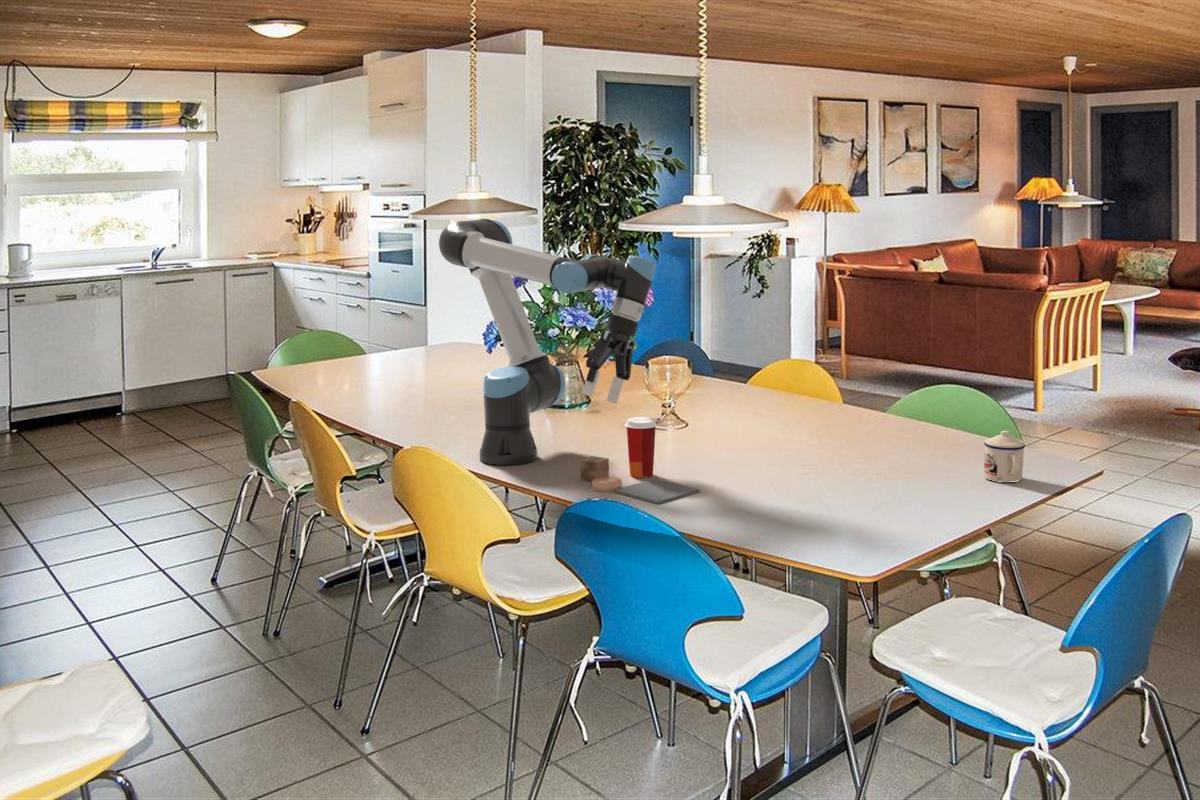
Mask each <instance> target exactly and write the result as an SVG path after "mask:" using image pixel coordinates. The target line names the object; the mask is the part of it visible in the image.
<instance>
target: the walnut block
mask: <svg viewBox="0 0 1200 800" xmlns="http://www.w3.org/2000/svg"><path fill="white" fill-rule="evenodd" d="M609 462H610V460H609V457H602V456H596V455H595V456H594V455H590V456H587V457H586V458H585V457H584V458H583V459H580V462H579V463H580V464H579V465H580V481H586V482H590V483H592V480H593V479H595V478H599V477H610V468H609V467H610V466H609V465H610V463H609Z"/></svg>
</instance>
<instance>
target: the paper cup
mask: <svg viewBox="0 0 1200 800" xmlns="http://www.w3.org/2000/svg"><path fill="white" fill-rule="evenodd" d="M624 427H626V435H627V437H626V438H627V451H628V466H629V467H628V468H629V475H630V477H631V478H634V477H635V478H634V479H647V478H646V477H649V478H651V477H650V476H652V475H653V476H654V464H655V463H654V462H655V447H656V446H655V442H656V441H655V440H656V427H657V423H656V421H655V419H654V418H652V417H648V416H636V417H634V416H633V417H630V418H628V419H627V420H626V422H625V423H624ZM653 476H652V477H653Z"/></svg>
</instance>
